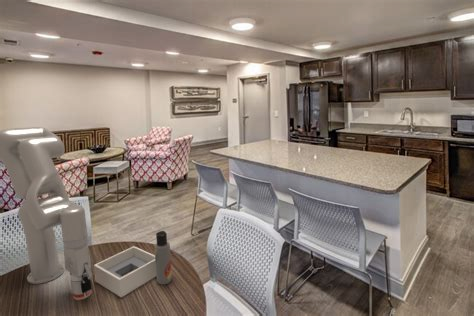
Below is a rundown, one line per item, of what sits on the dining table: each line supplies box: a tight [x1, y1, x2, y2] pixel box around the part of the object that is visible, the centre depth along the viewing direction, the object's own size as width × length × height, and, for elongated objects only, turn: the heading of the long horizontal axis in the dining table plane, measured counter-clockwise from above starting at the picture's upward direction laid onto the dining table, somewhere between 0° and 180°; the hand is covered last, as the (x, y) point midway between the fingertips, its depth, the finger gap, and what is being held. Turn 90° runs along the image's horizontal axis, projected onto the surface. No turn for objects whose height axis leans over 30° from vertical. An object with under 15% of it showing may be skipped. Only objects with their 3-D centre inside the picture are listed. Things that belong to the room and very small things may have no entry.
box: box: [93, 245, 157, 298], centre depth 114 cm, size 17×18×7 cm
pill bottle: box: [70, 271, 93, 301], centre depth 103 cm, size 6×6×11 cm
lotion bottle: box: [153, 230, 173, 285], centre depth 110 cm, size 6×6×20 cm
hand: (81, 287), depth 104 cm, fingers closed on pill bottle, 6 cm apart
